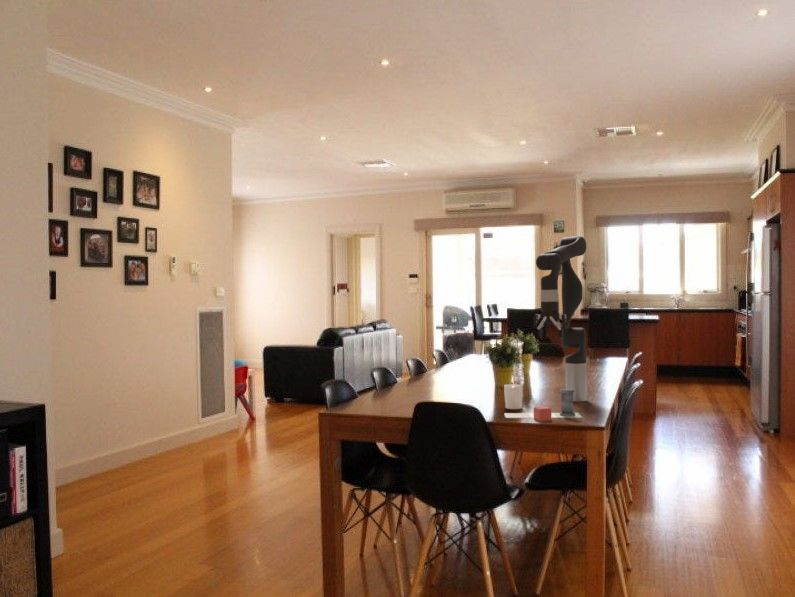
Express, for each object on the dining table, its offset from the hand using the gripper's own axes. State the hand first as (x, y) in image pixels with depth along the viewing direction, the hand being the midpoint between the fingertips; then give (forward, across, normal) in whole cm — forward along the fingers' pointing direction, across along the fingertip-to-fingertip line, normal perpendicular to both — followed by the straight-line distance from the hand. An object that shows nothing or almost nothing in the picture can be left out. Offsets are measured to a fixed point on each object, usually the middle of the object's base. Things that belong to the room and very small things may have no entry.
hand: (550, 338), depth 288 cm
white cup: (+30, +15, +6) cm, 34 cm away
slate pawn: (+30, -12, +12) cm, 34 cm away
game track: (+30, -3, +17) cm, 35 cm away
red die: (+30, -6, +25) cm, 40 cm away
